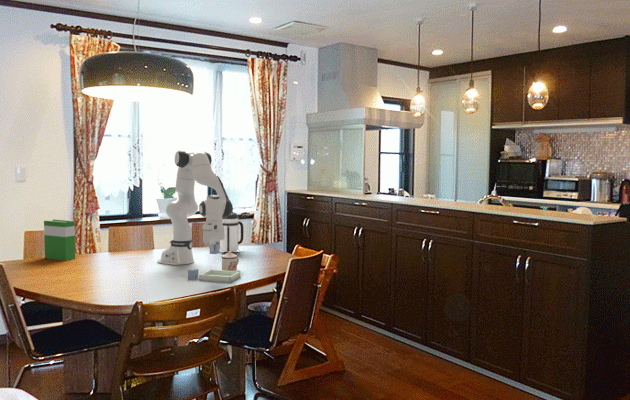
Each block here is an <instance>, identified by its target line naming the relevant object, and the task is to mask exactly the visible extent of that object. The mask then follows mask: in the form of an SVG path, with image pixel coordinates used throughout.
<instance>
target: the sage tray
mask: <svg viewBox="0 0 630 400" xmlns="http://www.w3.org/2000/svg"><path fill="white" fill-rule="evenodd" d="M239 277H240V278H241V271H238V270H237V271H224V270H222V269H208V270H206V271H204V272H202V273H200V274H198V280H199V281H202V282H203V281H205V282H216V283H217V282H218V283H230V284H231V283H232V282H234V281H236V280H238V279H239Z"/></svg>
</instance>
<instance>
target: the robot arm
mask: <svg viewBox="0 0 630 400" xmlns="http://www.w3.org/2000/svg"><path fill="white" fill-rule="evenodd" d="M174 163H175V166H176V167H178V169H177V172H176V180H175V191H176V192H177V195H178V200H174V201H171V202H170V203H168V204H167V205H166V208H165V212H166V215H167V216H168V218H170V221H171V223H172V236H173V237H172V238H173V239H172V240H170V241H169V244H170V246H168V247H167V248H166V249H165V250H163V251H162V252H161V255H160V259H158V260H157V263H158V264H163V265H164V264H165V265H171V266H173V265H174V266H179V265H188V264H189V265H190V264H193V263H195V259H194V255H193V250H192V249H193V239H192V235H193V234H192V227H191V225H190V224H189V220H188V218H189V217H192V216H194V215H195V214H196V213H197V212H198V211H199V214H200V215H201V216H202V217H203V218H206V219H205V223H204V224H203V225H202V228H201V229H202V230H203V231H202V241H203V243H204V244H203V245H208V246H209V252H210V251H214V246H213V245H214V244H220V241H221V240H223V239H224V238H225V233H224V227H223V220H222V217H229V216H230V215H231V214H232V213H234V207H233V204H232V201H231V200H230V198H229V196H228V194H227V191H226V189H225V187H224V184H223V182H222V180H221V178H220V177H219V176H218V175H216V173H214V171H213V169H212V155H211V154H210V153H209V152H206V151H201V150H188V149H187V150H184V149H181V150H178V151H177V152H176V153H175V155H174ZM195 183H198V184H199V185H201V186H205V187H209V188H212V189H213V190H215V192H216V194H209V195H207V196H206V199H205V200H202V201H201V202H200V203H199V205H198V203H197V202H196V198H195ZM198 209H199V210H198Z"/></svg>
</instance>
